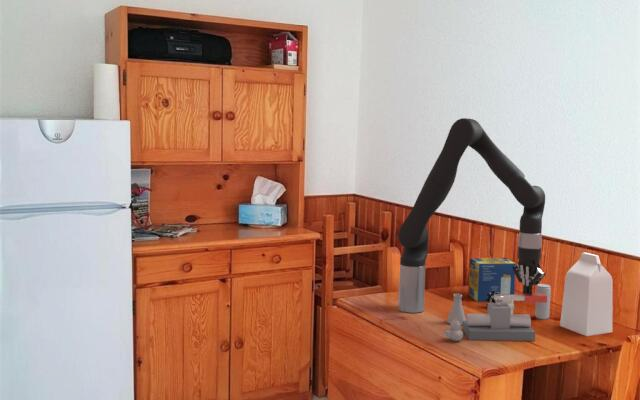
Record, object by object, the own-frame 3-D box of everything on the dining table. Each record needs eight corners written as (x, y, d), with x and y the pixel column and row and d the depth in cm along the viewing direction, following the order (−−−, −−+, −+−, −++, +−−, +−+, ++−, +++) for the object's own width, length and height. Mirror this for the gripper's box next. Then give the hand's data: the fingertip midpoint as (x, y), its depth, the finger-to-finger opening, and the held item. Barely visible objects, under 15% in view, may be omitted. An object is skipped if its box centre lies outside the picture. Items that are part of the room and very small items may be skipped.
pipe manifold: (469, 339, 210) (470, 305, 209) (462, 329, 221) (463, 296, 219) (534, 340, 210) (536, 306, 208) (524, 330, 220) (526, 297, 219)
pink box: (495, 301, 212) (496, 295, 212) (493, 299, 215) (493, 292, 215) (546, 302, 212) (547, 296, 212) (543, 300, 215) (543, 293, 215)
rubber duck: (467, 341, 208) (468, 317, 207) (450, 344, 205) (451, 320, 204) (456, 336, 213) (457, 313, 212) (439, 339, 210) (440, 315, 209)
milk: (559, 325, 226) (563, 252, 223) (585, 322, 230) (589, 249, 227) (586, 336, 215) (591, 258, 212) (612, 332, 219) (617, 256, 216)
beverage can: (532, 316, 237) (534, 283, 236) (545, 315, 237) (547, 283, 236) (538, 320, 232) (540, 287, 231) (551, 319, 233) (553, 286, 231)
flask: (468, 320, 230) (469, 293, 229) (466, 326, 224) (467, 298, 222) (447, 318, 233) (448, 291, 232) (444, 324, 226) (445, 296, 225)
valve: (518, 316, 237) (498, 307, 248) (519, 298, 236) (499, 290, 248) (503, 317, 235) (484, 308, 246) (504, 299, 234) (484, 291, 245)
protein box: (468, 295, 265) (469, 257, 263) (504, 294, 267) (506, 257, 265) (476, 302, 255) (478, 263, 253) (514, 301, 256) (516, 262, 255)
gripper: (506, 243, 222) (504, 293, 224) (536, 250, 210) (534, 302, 212) (522, 241, 225) (520, 290, 227) (553, 248, 214) (550, 299, 216)
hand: (527, 296), depth 220 cm, fingers closed
